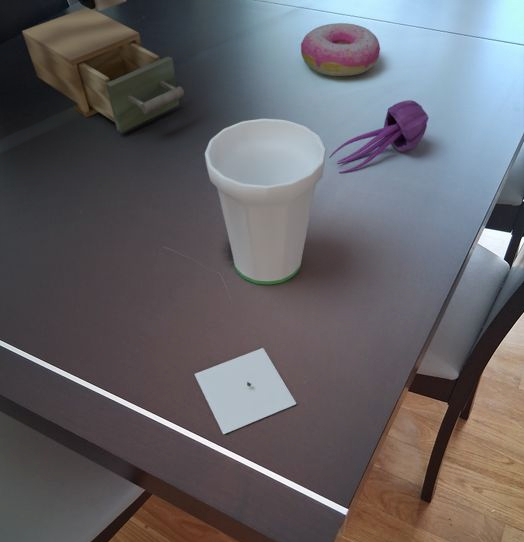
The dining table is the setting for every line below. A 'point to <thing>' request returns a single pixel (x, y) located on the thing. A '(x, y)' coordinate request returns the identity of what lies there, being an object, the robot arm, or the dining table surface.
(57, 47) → the cabinet
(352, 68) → the donut
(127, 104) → the drawer
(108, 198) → the dining table surface
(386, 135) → the jellyfish
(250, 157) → the cup
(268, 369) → the coaster
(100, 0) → the block
